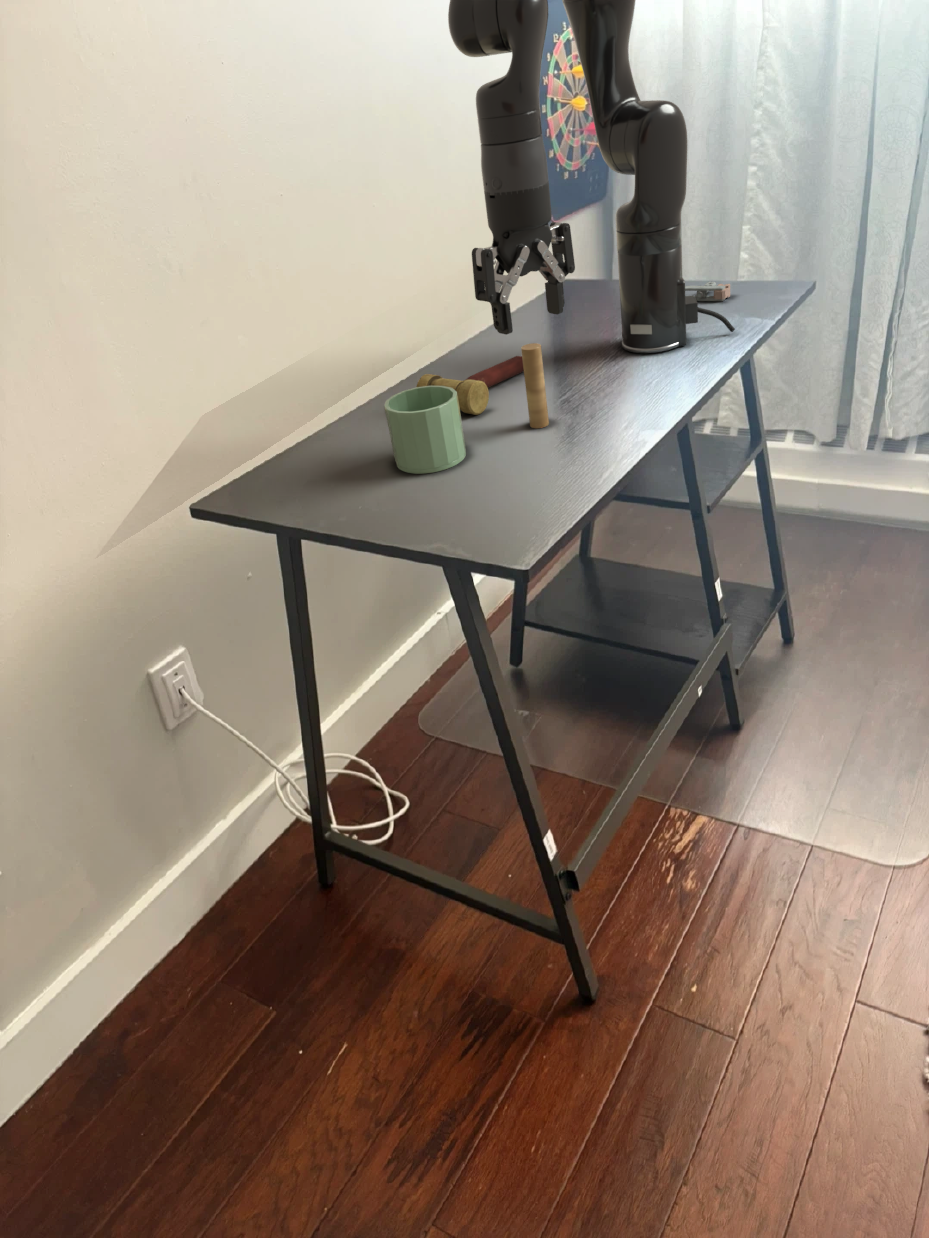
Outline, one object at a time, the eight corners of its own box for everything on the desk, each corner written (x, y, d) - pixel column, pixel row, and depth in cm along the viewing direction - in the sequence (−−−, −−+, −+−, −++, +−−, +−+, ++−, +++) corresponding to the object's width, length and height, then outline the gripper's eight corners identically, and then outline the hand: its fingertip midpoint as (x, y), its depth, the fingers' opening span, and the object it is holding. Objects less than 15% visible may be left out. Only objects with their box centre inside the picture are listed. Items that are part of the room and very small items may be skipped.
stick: (548, 420, 128) (540, 342, 122) (549, 427, 125) (540, 348, 120) (530, 422, 128) (521, 344, 122) (530, 429, 126) (521, 351, 120)
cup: (467, 440, 126) (458, 381, 121) (464, 469, 118) (454, 407, 114) (400, 448, 127) (388, 390, 123) (392, 477, 119) (380, 416, 115)
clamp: (736, 278, 163) (716, 295, 156) (736, 291, 164) (716, 309, 157) (652, 278, 170) (630, 295, 164) (652, 291, 172) (630, 308, 165)
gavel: (504, 341, 148) (557, 346, 142) (506, 370, 151) (558, 376, 145) (412, 379, 135) (466, 386, 129) (417, 410, 137) (470, 419, 131)
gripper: (538, 169, 117) (551, 304, 125) (447, 195, 110) (467, 335, 118) (582, 170, 111) (592, 310, 120) (490, 197, 105) (507, 344, 113)
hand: (530, 323), depth 119 cm, fingers open, 8 cm apart
